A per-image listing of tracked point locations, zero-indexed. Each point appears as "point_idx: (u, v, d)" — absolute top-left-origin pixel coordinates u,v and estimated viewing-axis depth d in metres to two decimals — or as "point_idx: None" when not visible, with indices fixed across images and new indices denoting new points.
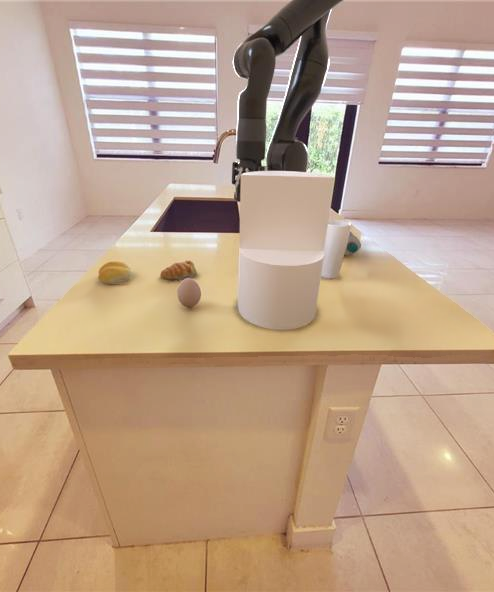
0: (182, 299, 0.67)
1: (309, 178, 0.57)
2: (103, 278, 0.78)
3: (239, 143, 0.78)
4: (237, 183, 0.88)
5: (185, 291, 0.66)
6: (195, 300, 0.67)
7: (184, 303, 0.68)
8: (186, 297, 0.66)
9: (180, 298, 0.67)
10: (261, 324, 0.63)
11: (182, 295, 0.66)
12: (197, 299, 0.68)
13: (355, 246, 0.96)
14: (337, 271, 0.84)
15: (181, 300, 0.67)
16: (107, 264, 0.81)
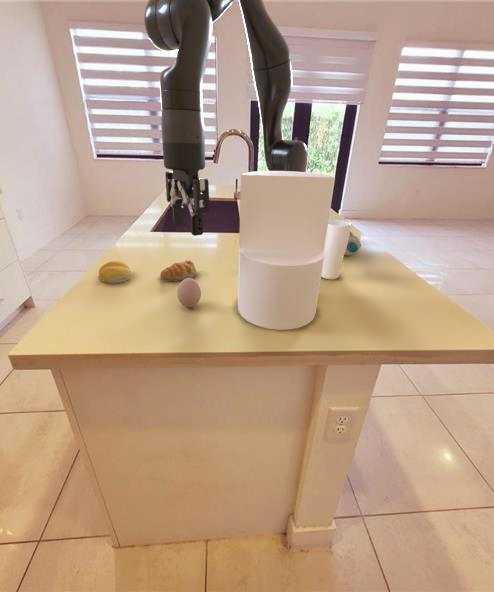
0: (182, 299, 0.67)
1: (309, 178, 0.57)
2: (103, 278, 0.78)
3: (164, 146, 0.54)
4: (172, 201, 0.63)
5: (185, 291, 0.66)
6: (195, 300, 0.67)
7: (184, 303, 0.68)
8: (186, 297, 0.66)
9: (180, 298, 0.67)
10: (261, 324, 0.63)
11: (182, 295, 0.66)
12: (197, 299, 0.68)
13: (355, 246, 0.96)
14: (337, 271, 0.84)
15: (181, 300, 0.67)
16: (107, 264, 0.81)
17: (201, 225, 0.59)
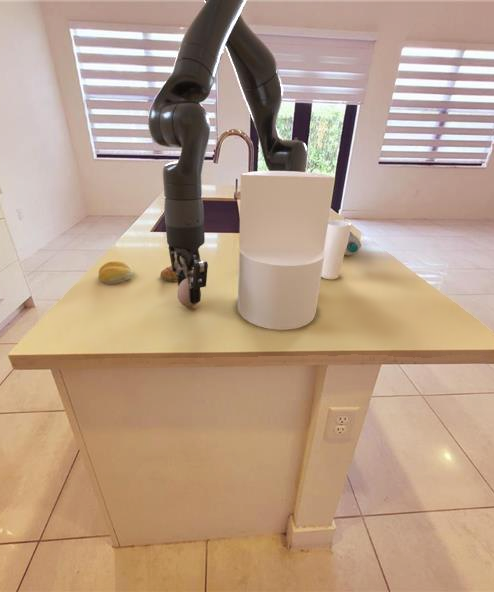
0: (182, 299, 0.67)
1: (309, 178, 0.57)
2: (103, 278, 0.78)
3: (167, 228, 0.60)
4: (177, 272, 0.68)
5: (185, 291, 0.66)
6: None
7: (184, 303, 0.68)
8: (186, 297, 0.66)
9: (180, 298, 0.67)
10: (261, 324, 0.63)
11: (182, 295, 0.66)
12: None
13: (355, 246, 0.96)
14: (337, 271, 0.84)
15: (181, 300, 0.67)
16: (107, 264, 0.81)
17: (198, 295, 0.66)
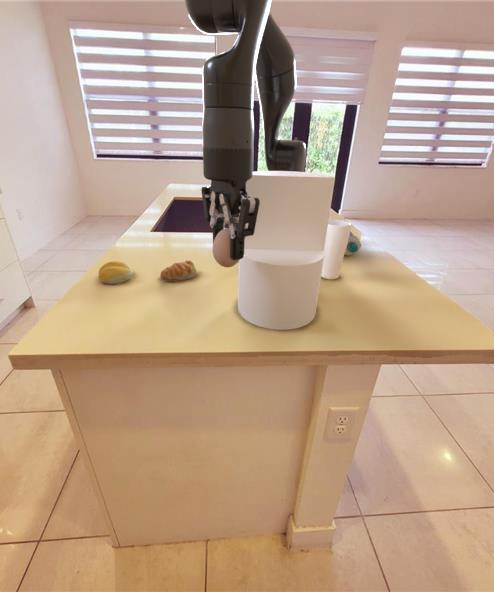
0: (219, 255, 0.52)
1: (309, 178, 0.57)
2: (103, 278, 0.78)
3: (206, 152, 0.45)
4: (212, 221, 0.53)
5: (224, 244, 0.51)
6: None
7: (222, 260, 0.52)
8: (226, 252, 0.51)
9: (217, 254, 0.52)
10: (261, 324, 0.63)
11: (221, 248, 0.51)
12: None
13: (355, 246, 0.96)
14: (337, 271, 0.84)
15: (218, 256, 0.52)
16: (107, 264, 0.81)
17: (242, 248, 0.50)
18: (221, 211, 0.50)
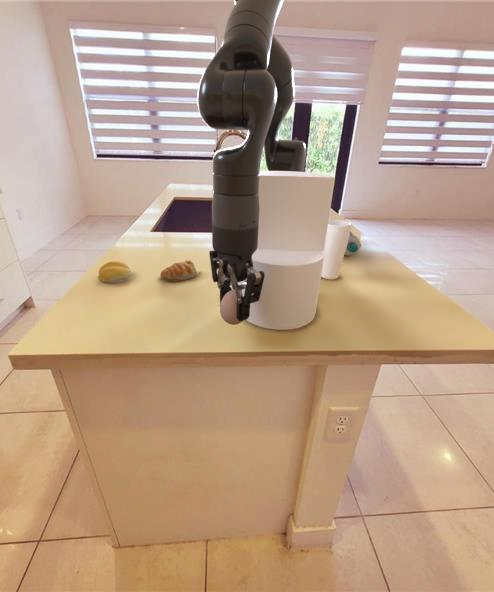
0: (227, 316, 0.56)
1: (309, 178, 0.57)
2: (103, 278, 0.78)
3: (216, 230, 0.49)
4: (220, 282, 0.57)
5: (231, 306, 0.55)
6: None
7: (229, 320, 0.56)
8: (233, 314, 0.55)
9: (224, 314, 0.56)
10: (261, 324, 0.63)
11: (228, 310, 0.55)
12: None
13: (355, 246, 0.96)
14: (337, 271, 0.84)
15: (225, 317, 0.56)
16: (107, 264, 0.81)
17: (248, 311, 0.54)
18: (228, 277, 0.54)
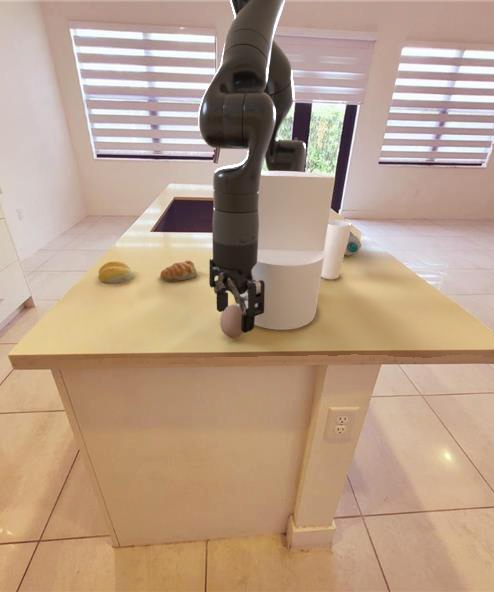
0: (227, 330, 0.57)
1: (309, 178, 0.57)
2: (103, 278, 0.78)
3: (216, 245, 0.50)
4: (217, 289, 0.59)
5: (231, 320, 0.56)
6: None
7: (229, 334, 0.58)
8: (233, 328, 0.57)
9: (224, 328, 0.57)
10: (261, 324, 0.63)
11: (228, 324, 0.57)
12: None
13: (355, 246, 0.96)
14: (337, 271, 0.84)
15: (226, 330, 0.57)
16: (107, 264, 0.81)
17: (253, 323, 0.54)
18: (226, 289, 0.56)
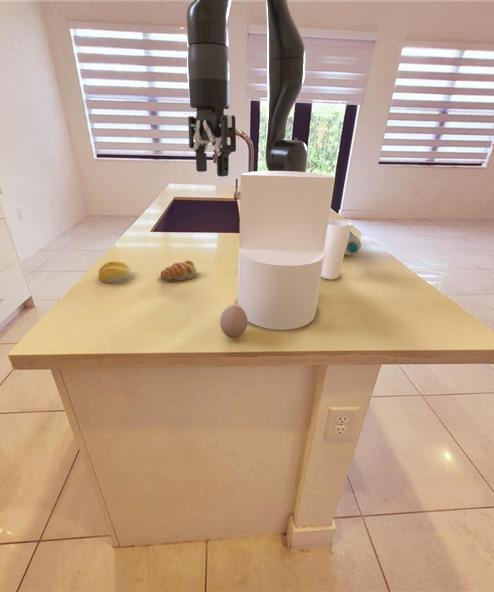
0: (227, 330, 0.57)
1: (309, 178, 0.57)
2: (103, 278, 0.78)
3: (191, 83, 0.55)
4: (195, 145, 0.65)
5: (231, 320, 0.56)
6: (242, 330, 0.58)
7: (229, 334, 0.58)
8: (233, 328, 0.57)
9: (224, 328, 0.57)
10: (261, 324, 0.63)
11: (228, 324, 0.57)
12: (244, 329, 0.58)
13: (355, 246, 0.96)
14: (337, 271, 0.84)
15: (226, 330, 0.57)
16: (107, 264, 0.81)
17: (227, 165, 0.60)
18: (203, 139, 0.62)
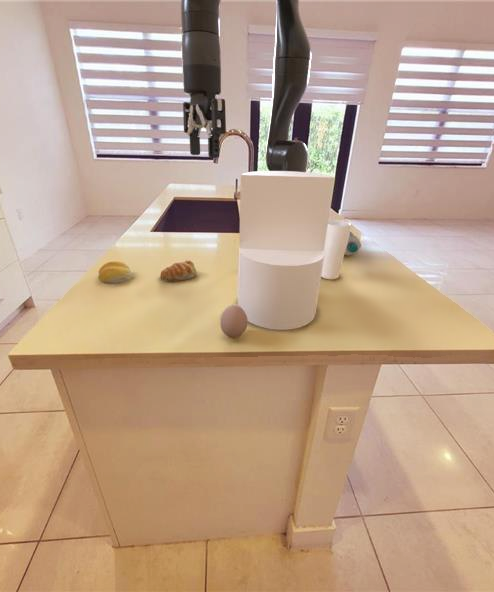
0: (227, 330, 0.57)
1: (309, 178, 0.57)
2: (103, 278, 0.78)
3: (185, 69, 0.60)
4: (189, 129, 0.69)
5: (231, 320, 0.56)
6: (242, 330, 0.58)
7: (229, 334, 0.58)
8: (233, 328, 0.57)
9: (224, 328, 0.57)
10: (261, 324, 0.63)
11: (228, 324, 0.57)
12: (244, 329, 0.58)
13: (355, 246, 0.96)
14: (337, 271, 0.84)
15: (226, 330, 0.57)
16: (107, 264, 0.81)
17: (217, 146, 0.64)
18: (196, 123, 0.66)
